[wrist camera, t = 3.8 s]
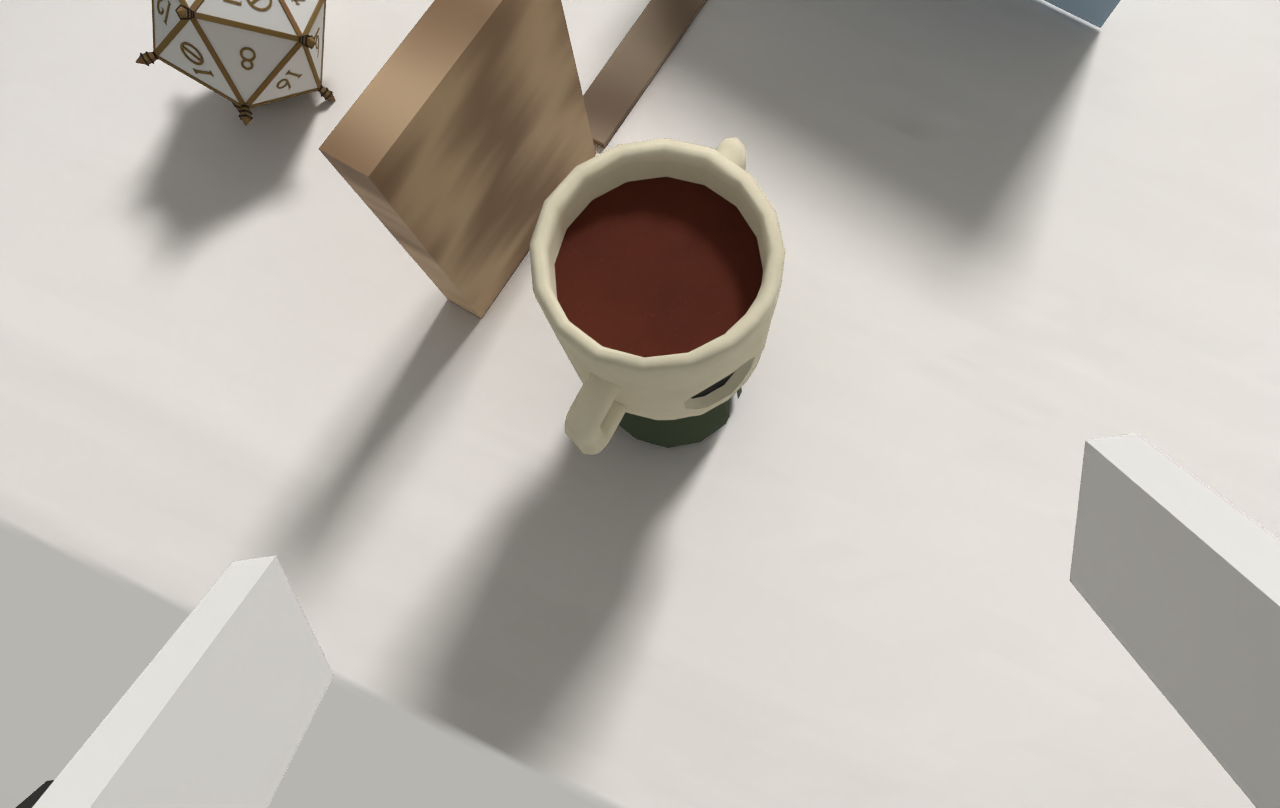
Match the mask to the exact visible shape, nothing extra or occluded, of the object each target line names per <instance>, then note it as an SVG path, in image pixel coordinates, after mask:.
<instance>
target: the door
mask: <svg viewBox="0 0 1280 808" xmlns="http://www.w3.org/2000/svg"><path fill="white" fill-rule="evenodd" d="M1045 1H1047V2H1049V3H1051V4H1053V5H1055V6H1057V7H1059V8H1061V9H1063V10H1065V11H1067V12H1069V13H1071V14H1073V15H1075V16H1077V17H1079V18H1081V19H1083V20H1085V21H1087V22H1089V23H1091V24H1093V25H1095V26H1098V27H1100V28H1101V26H1102V25H1103V24H1104V22H1105V21H1106V20H1107V18H1108V17H1109V15H1110V14H1111V13H1112V11H1113V10H1114V9H1115V7H1116V6H1117V4H1118V3H1119V2H1120V0H1045Z"/></svg>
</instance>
